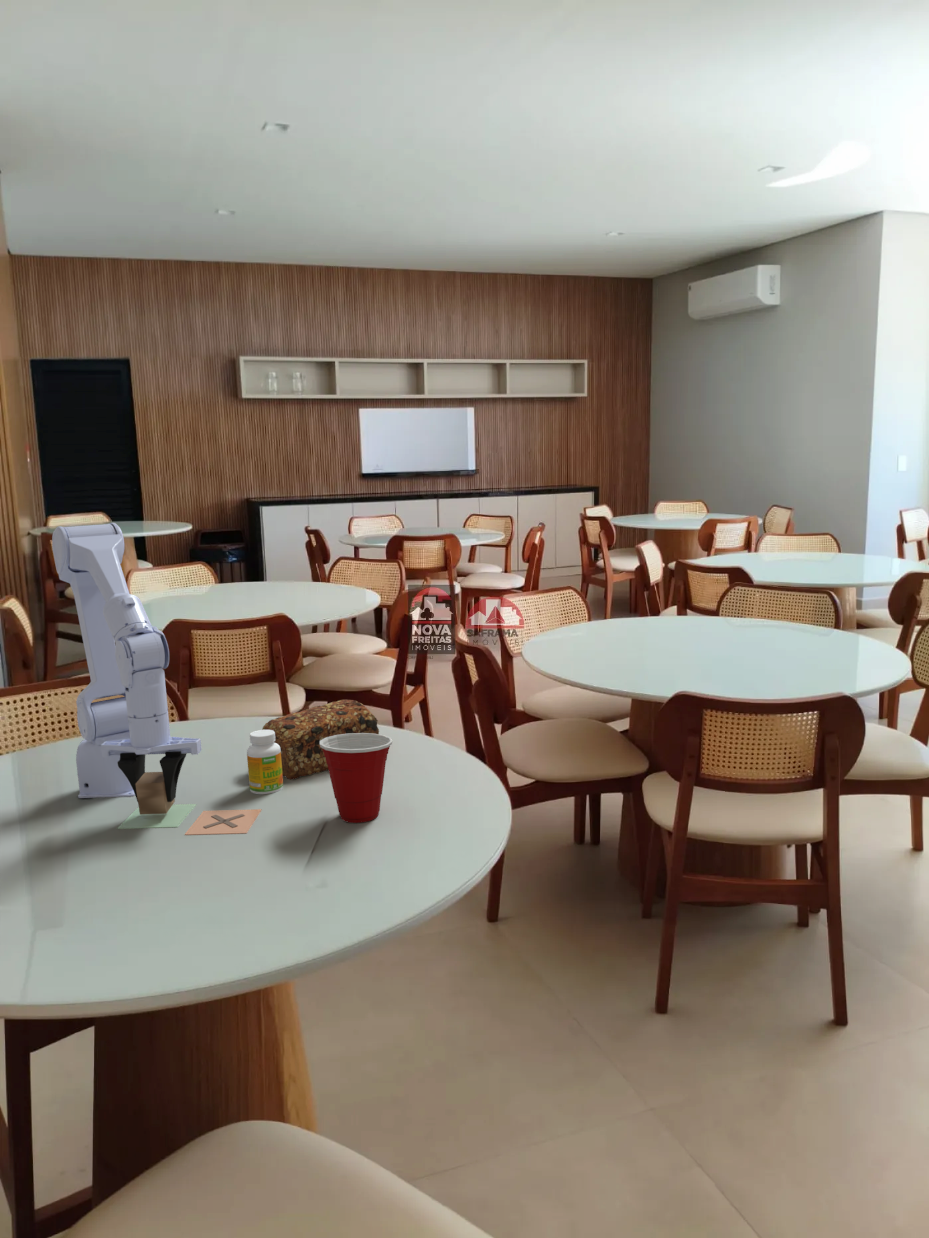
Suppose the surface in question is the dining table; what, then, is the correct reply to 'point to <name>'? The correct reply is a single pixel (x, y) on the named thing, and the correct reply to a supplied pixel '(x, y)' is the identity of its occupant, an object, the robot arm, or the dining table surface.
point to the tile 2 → (224, 822)
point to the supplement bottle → (264, 763)
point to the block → (152, 794)
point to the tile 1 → (158, 818)
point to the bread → (316, 734)
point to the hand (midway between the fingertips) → (156, 800)
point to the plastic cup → (357, 773)
